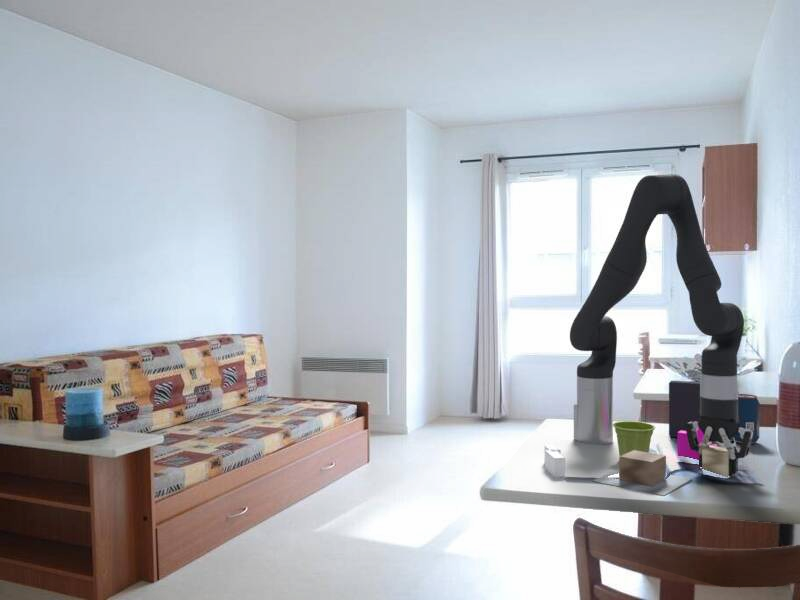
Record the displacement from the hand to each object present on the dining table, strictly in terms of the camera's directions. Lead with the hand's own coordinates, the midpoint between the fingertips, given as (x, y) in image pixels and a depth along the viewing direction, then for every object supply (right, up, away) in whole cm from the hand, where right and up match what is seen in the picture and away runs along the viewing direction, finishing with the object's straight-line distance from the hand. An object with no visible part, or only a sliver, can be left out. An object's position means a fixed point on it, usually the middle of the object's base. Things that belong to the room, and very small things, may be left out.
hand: (718, 472), depth 152 cm
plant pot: (-14, -1, +13) cm, 19 cm away
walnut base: (-18, -1, -5) cm, 19 cm away
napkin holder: (-34, -2, +5) cm, 34 cm away
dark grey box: (+10, 0, +37) cm, 38 cm away
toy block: (+3, -1, +15) cm, 16 cm away
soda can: (+22, 0, +33) cm, 39 cm away
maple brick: (0, -1, 0) cm, 1 cm away
